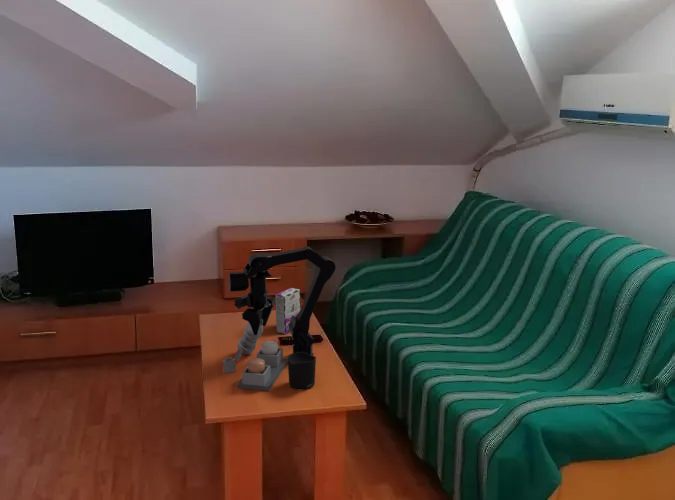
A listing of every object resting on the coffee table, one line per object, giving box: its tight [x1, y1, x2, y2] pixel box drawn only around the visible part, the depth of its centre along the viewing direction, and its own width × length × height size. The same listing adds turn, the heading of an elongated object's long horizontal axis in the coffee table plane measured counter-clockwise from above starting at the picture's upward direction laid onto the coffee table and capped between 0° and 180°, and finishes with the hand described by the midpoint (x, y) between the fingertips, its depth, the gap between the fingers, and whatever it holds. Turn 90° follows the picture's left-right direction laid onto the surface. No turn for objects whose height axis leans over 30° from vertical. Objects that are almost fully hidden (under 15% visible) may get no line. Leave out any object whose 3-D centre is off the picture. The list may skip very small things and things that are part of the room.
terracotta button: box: [247, 357, 265, 374], centre depth 229 cm, size 6×6×4 cm
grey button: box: [261, 340, 279, 356], centre depth 244 cm, size 6×6×4 cm
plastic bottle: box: [237, 320, 264, 355], centre depth 249 cm, size 6×7×20 cm
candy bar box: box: [274, 287, 301, 335], centre depth 279 cm, size 11×5×16 cm, turn 149°
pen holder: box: [287, 352, 317, 391], centre depth 229 cm, size 9×9×10 cm
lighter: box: [222, 347, 243, 374], centre depth 240 cm, size 7×2×8 cm, turn 117°
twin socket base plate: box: [236, 347, 288, 392], centre depth 237 cm, size 11×24×6 cm, turn 169°
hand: (259, 330), depth 246 cm, fingers open, 9 cm apart
